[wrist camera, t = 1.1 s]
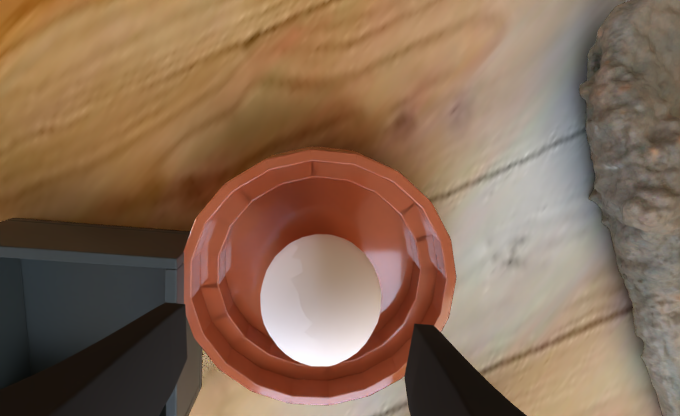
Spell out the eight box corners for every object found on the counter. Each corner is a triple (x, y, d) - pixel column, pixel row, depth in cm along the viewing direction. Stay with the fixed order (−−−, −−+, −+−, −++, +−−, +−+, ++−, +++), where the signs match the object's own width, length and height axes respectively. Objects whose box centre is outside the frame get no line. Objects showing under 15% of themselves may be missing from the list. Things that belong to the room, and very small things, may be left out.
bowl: (416, 371, 25) (432, 409, 22) (199, 361, 24) (179, 400, 21) (452, 159, 22) (477, 165, 19) (203, 134, 21) (180, 136, 17)
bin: (201, 386, 24) (176, 443, 20) (29, 379, 23) (-37, 437, 19) (204, 232, 22) (176, 258, 18) (13, 217, 21) (-67, 241, 17)
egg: (288, 324, 23) (273, 422, 15) (256, 236, 22) (222, 295, 14) (380, 297, 23) (412, 382, 15) (355, 207, 22) (376, 251, 14)
